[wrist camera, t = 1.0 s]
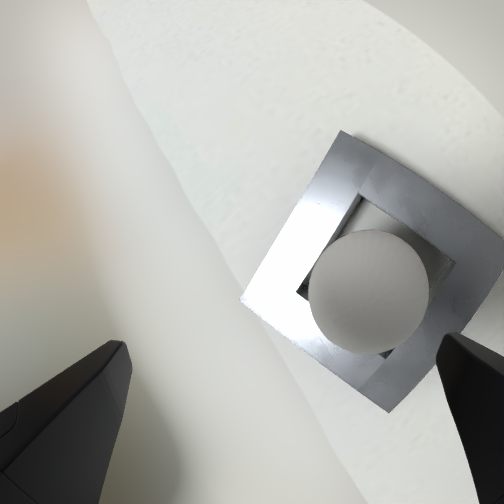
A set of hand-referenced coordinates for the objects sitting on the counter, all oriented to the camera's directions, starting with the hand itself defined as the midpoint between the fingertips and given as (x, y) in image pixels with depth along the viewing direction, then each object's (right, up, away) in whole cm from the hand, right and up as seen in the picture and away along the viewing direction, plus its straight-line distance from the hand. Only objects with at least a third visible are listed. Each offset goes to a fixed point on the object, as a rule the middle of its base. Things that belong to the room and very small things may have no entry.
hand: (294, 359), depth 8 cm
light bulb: (+8, +1, +13) cm, 15 cm away
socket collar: (+7, +1, +13) cm, 15 cm away
